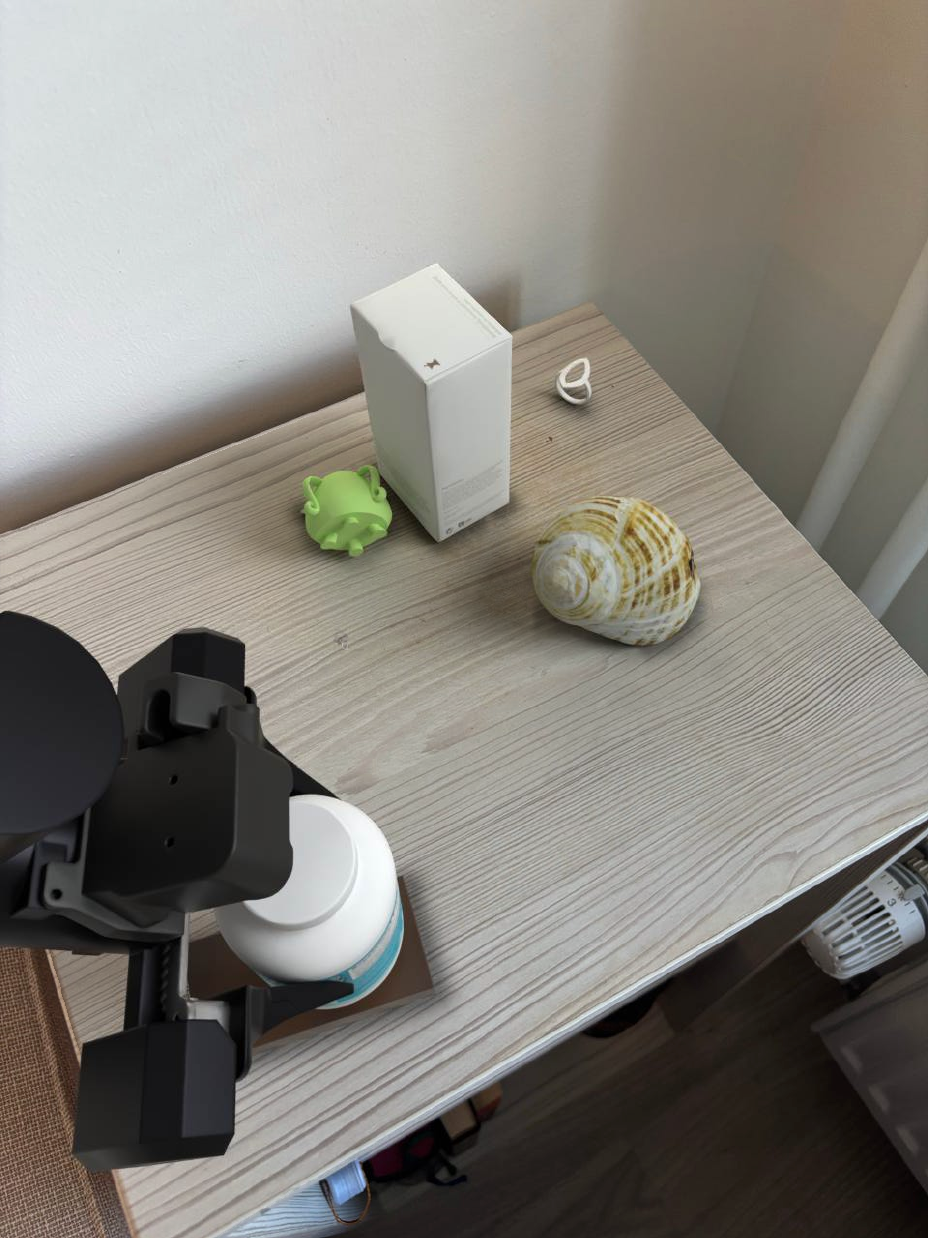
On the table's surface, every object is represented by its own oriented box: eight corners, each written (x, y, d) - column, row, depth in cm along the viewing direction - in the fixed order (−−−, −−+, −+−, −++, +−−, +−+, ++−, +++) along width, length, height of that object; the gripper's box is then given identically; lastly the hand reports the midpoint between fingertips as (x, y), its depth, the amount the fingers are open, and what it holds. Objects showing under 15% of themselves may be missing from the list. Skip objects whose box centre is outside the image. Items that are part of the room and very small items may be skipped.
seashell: (732, 589, 61) (720, 553, 52) (623, 687, 62) (592, 669, 53) (630, 487, 65) (602, 436, 55) (529, 581, 66) (484, 547, 57)
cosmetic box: (510, 505, 65) (522, 338, 52) (432, 549, 63) (424, 387, 50) (445, 431, 69) (440, 256, 55) (369, 470, 67) (345, 299, 53)
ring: (548, 389, 71) (553, 361, 68) (581, 384, 71) (587, 356, 69) (557, 415, 70) (562, 387, 67) (590, 409, 70) (597, 382, 67)
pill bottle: (224, 951, 45) (146, 882, 34) (319, 831, 49) (279, 729, 37) (343, 1046, 43) (305, 1007, 32) (435, 914, 46) (430, 834, 35)
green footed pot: (386, 495, 66) (380, 441, 61) (403, 555, 63) (398, 505, 58) (300, 512, 65) (287, 460, 60) (314, 574, 62) (301, 525, 57)
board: (212, 1070, 47) (200, 1066, 45) (193, 953, 50) (181, 944, 48) (436, 994, 49) (434, 987, 47) (405, 886, 52) (403, 874, 50)
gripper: (42, 1167, 20) (509, 1124, 31) (117, 497, 30) (456, 635, 40) (-131, 1194, 27) (304, 1151, 37) (-25, 635, 36) (299, 724, 46)
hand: (344, 897), depth 40 cm, fingers closed on pill bottle, 7 cm apart
